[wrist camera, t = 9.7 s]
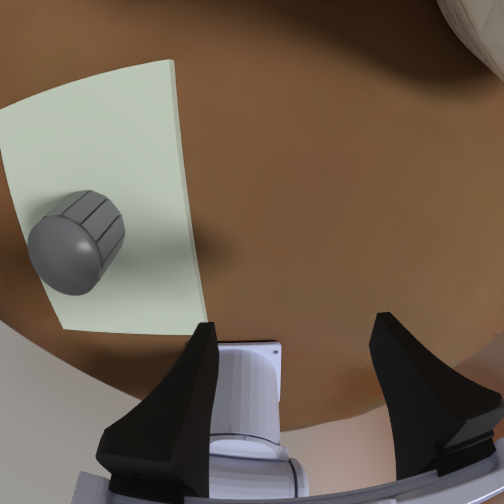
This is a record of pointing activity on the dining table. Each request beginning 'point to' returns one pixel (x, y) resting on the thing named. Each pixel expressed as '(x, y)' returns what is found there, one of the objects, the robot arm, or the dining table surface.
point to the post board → (113, 192)
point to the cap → (76, 242)
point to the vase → (479, 29)
